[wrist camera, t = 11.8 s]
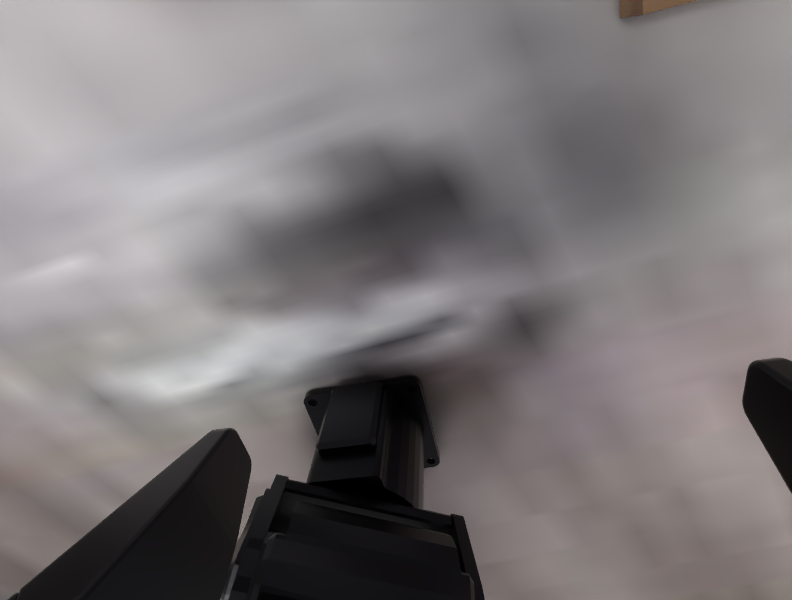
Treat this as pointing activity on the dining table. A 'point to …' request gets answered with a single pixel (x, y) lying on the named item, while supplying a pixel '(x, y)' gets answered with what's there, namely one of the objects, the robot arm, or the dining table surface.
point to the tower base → (646, 6)
